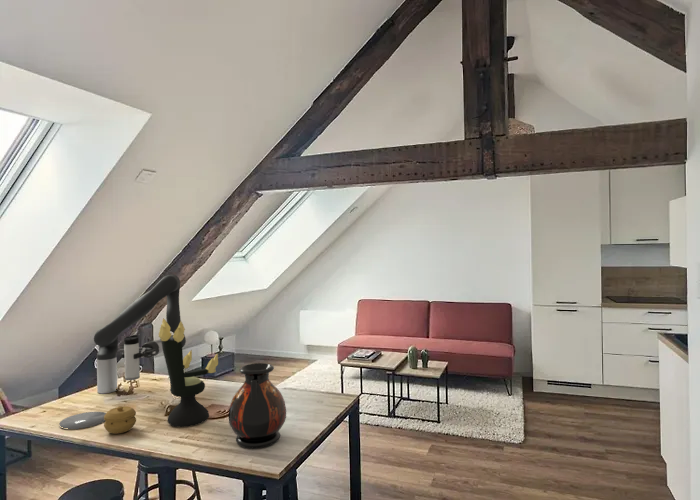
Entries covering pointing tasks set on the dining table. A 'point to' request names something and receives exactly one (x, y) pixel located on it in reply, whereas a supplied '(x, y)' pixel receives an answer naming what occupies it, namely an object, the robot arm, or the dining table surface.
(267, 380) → the black and orange vase
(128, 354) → the travel mug
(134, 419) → the pot
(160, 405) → the dining table surface
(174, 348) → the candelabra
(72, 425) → the charcoal trivet
